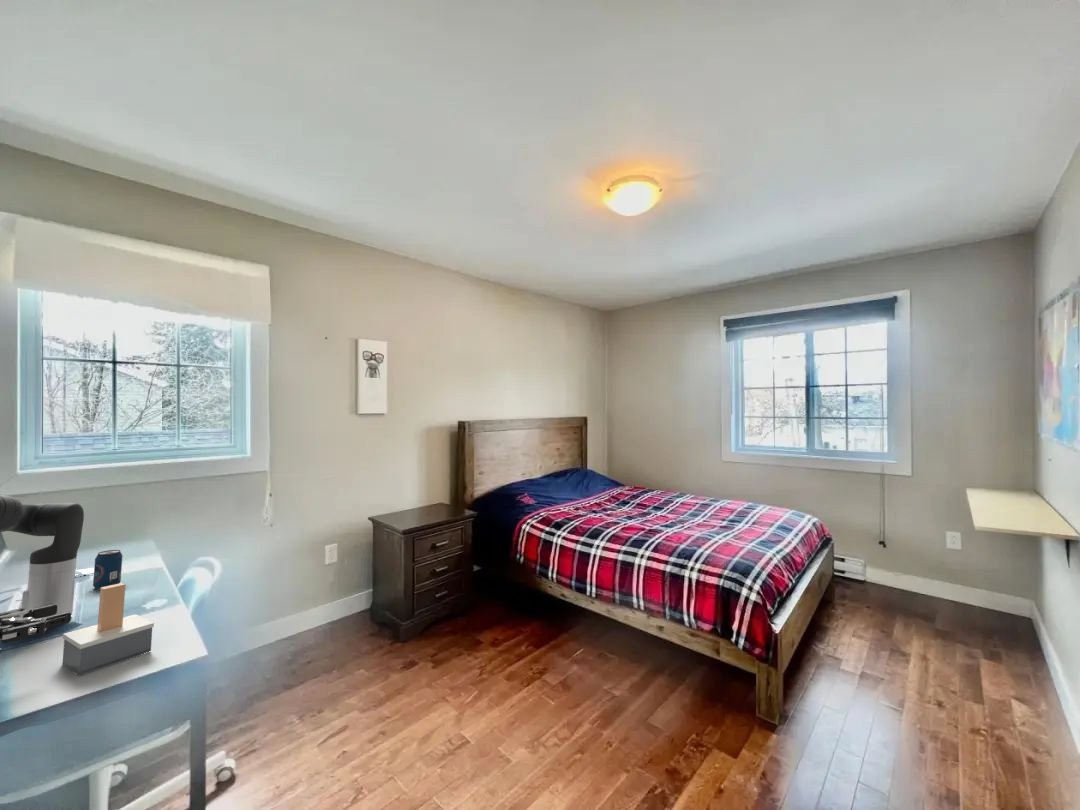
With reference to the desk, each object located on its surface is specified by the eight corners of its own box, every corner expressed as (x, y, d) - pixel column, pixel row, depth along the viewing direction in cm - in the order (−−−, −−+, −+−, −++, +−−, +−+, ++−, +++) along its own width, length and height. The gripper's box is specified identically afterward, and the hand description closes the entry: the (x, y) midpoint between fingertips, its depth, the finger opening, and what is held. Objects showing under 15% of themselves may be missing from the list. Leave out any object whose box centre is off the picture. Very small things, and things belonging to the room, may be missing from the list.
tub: (78, 676, 101) (81, 648, 101) (62, 664, 106) (64, 638, 106) (150, 651, 112) (152, 627, 113) (132, 642, 117) (134, 618, 117)
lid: (79, 654, 101) (84, 598, 102) (62, 643, 106) (66, 590, 107) (153, 631, 113) (156, 581, 113) (134, 622, 118) (138, 575, 118)
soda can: (88, 588, 155) (90, 553, 155) (113, 582, 161) (115, 548, 162) (99, 591, 152) (102, 555, 153) (124, 585, 158) (127, 550, 159)
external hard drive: (59, 577, 168) (105, 569, 177) (62, 581, 163) (109, 573, 172) (59, 572, 168) (105, 565, 178) (62, 577, 163) (109, 569, 172)
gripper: (-43, 630, 85) (76, 602, 99) (-60, 613, 92) (53, 590, 106) (-46, 671, 85) (74, 637, 99) (-64, 651, 92) (51, 622, 106)
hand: (63, 612), depth 103 cm, fingers open, 8 cm apart
